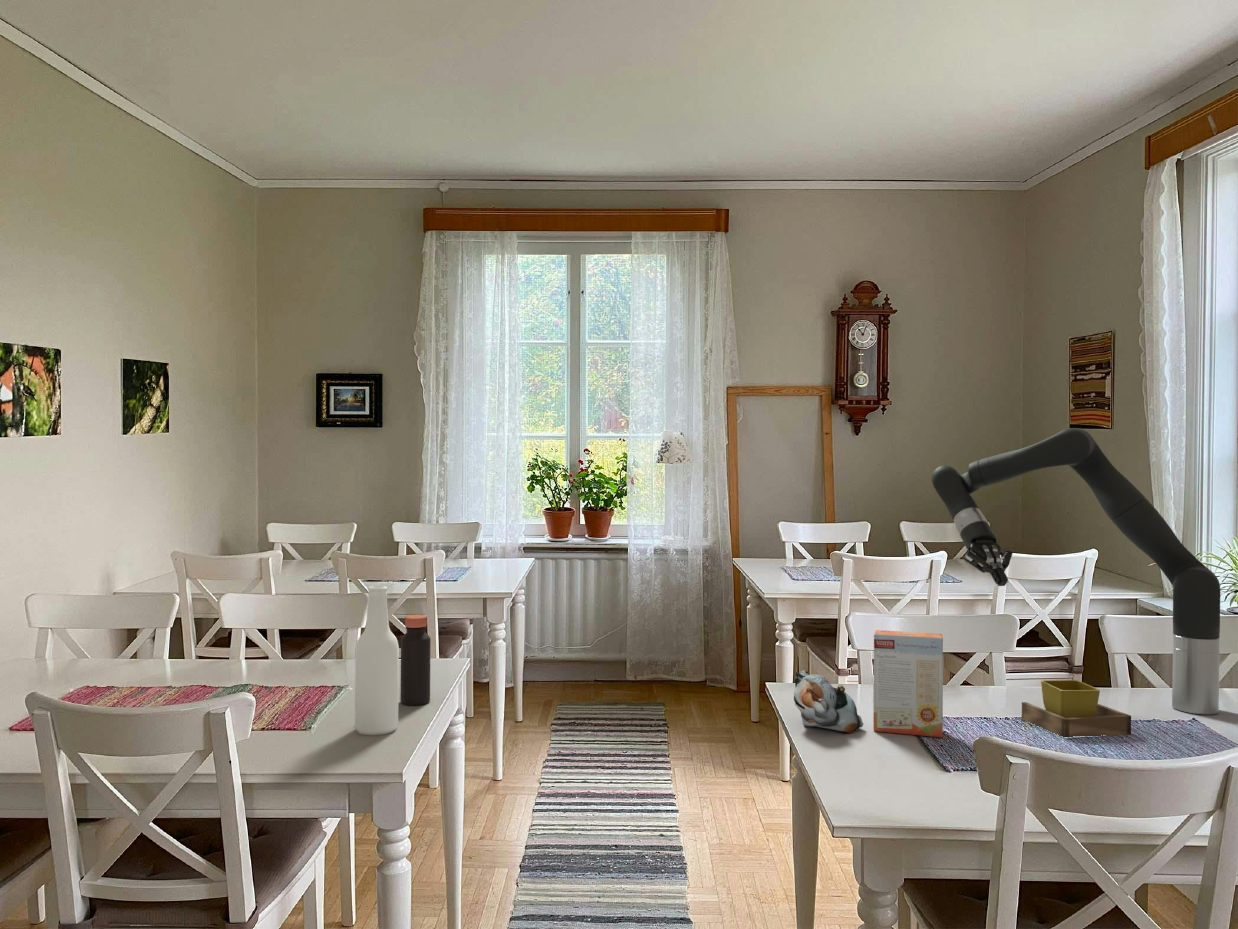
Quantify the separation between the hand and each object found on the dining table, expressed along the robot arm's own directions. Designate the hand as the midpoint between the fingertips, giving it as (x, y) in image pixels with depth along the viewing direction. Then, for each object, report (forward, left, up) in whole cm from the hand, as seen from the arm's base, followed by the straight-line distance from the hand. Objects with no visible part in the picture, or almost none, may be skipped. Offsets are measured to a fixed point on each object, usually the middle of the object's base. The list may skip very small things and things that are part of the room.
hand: (1003, 584), depth 224 cm
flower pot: (+11, +20, -28) cm, 36 cm away
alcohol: (+126, -75, -28) cm, 149 cm away
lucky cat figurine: (+52, -14, -28) cm, 61 cm away
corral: (+11, +21, -28) cm, 36 cm away
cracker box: (+42, -1, -28) cm, 50 cm away
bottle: (+109, -89, -28) cm, 143 cm away
